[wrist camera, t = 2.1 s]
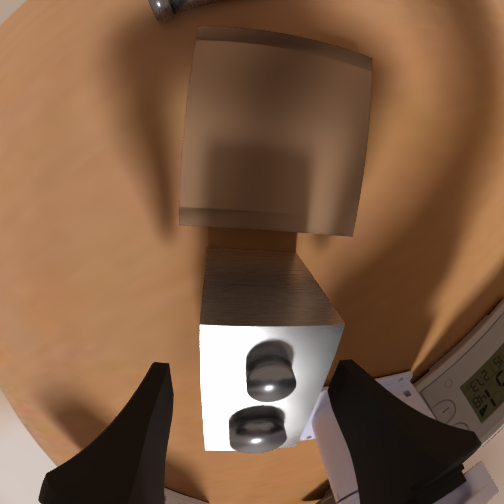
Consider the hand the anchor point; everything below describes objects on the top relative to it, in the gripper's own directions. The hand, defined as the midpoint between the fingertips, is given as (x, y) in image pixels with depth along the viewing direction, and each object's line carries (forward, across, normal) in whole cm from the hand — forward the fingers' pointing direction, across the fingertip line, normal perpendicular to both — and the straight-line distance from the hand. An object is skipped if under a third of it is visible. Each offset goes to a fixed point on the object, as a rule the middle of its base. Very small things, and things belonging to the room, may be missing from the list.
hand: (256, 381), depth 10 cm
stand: (+5, -1, -10) cm, 11 cm away
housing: (+5, 0, 0) cm, 5 cm away
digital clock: (+5, -23, +6) cm, 25 cm away
